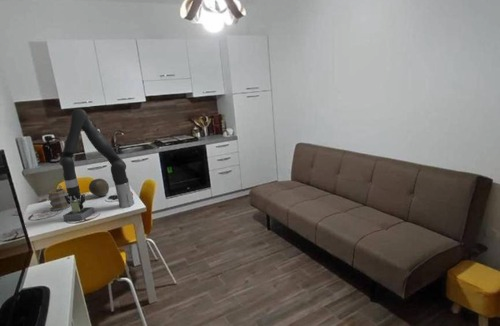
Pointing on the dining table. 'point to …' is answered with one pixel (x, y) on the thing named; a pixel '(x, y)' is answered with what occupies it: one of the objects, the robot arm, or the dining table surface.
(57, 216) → the dining table surface
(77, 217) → the bin
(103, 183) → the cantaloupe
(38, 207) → the dining table surface
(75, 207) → the olive block
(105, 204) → the dining table surface
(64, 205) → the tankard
